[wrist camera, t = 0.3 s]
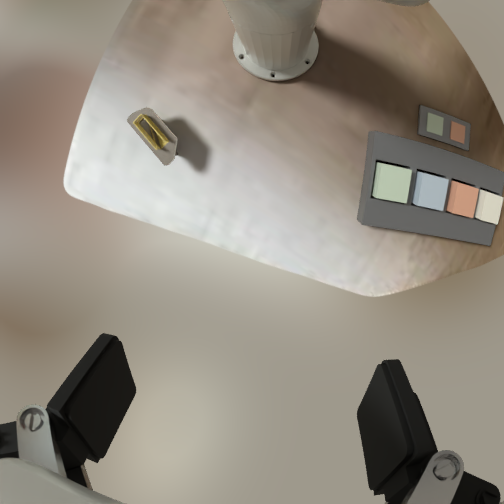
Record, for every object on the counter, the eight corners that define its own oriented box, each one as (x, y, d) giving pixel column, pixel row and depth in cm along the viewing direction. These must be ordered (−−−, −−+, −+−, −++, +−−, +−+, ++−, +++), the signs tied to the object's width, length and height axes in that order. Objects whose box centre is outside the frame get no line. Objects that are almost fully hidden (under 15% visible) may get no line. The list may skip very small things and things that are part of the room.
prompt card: (419, 105, 34) (421, 104, 34) (469, 123, 34) (471, 123, 33) (417, 134, 36) (419, 134, 36) (467, 150, 36) (469, 151, 35)
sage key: (375, 161, 37) (381, 163, 35) (404, 168, 37) (411, 170, 34) (370, 194, 39) (376, 198, 37) (399, 199, 39) (406, 203, 36)
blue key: (415, 170, 37) (423, 172, 34) (440, 177, 37) (448, 179, 34) (410, 201, 39) (417, 205, 36) (435, 206, 38) (442, 210, 36)
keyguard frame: (368, 131, 37) (375, 130, 35) (495, 170, 36) (505, 172, 33) (356, 219, 43) (361, 224, 40) (481, 240, 41) (490, 245, 38)
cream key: (477, 188, 36) (486, 191, 34) (494, 194, 36) (503, 197, 33) (472, 215, 38) (480, 220, 35) (489, 220, 38) (497, 224, 35)
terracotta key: (449, 179, 36) (458, 182, 34) (470, 185, 36) (478, 188, 34) (444, 208, 38) (452, 213, 36) (464, 213, 38) (473, 218, 36)
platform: (161, 72, 37) (143, 63, 31) (231, 149, 41) (223, 150, 35) (112, 123, 40) (90, 122, 34) (176, 198, 45) (160, 208, 38)
